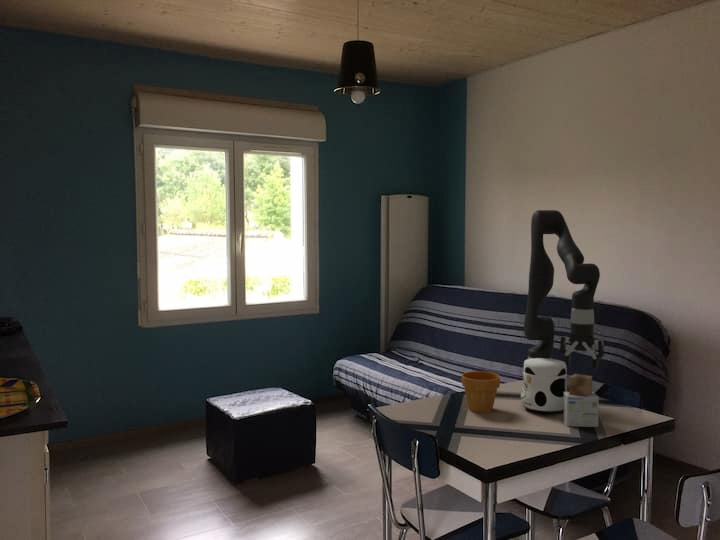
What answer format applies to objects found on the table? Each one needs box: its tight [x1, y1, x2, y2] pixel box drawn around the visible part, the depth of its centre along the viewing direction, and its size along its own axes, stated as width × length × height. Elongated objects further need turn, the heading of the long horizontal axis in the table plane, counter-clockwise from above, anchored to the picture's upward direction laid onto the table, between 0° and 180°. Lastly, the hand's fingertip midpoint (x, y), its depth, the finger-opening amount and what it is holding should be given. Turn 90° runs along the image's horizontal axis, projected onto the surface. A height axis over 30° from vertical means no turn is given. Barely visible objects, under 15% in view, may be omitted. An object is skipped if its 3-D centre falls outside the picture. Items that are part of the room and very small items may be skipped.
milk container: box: [520, 358, 569, 414], centre depth 230 cm, size 17×17×18 cm
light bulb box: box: [563, 391, 600, 428], centre depth 213 cm, size 11×7×11 cm, turn 84°
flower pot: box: [461, 370, 501, 413], centre depth 231 cm, size 14×14×13 cm
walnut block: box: [568, 373, 593, 397], centre depth 212 cm, size 6×6×6 cm
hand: (581, 367), depth 212 cm, fingers open, 8 cm apart
